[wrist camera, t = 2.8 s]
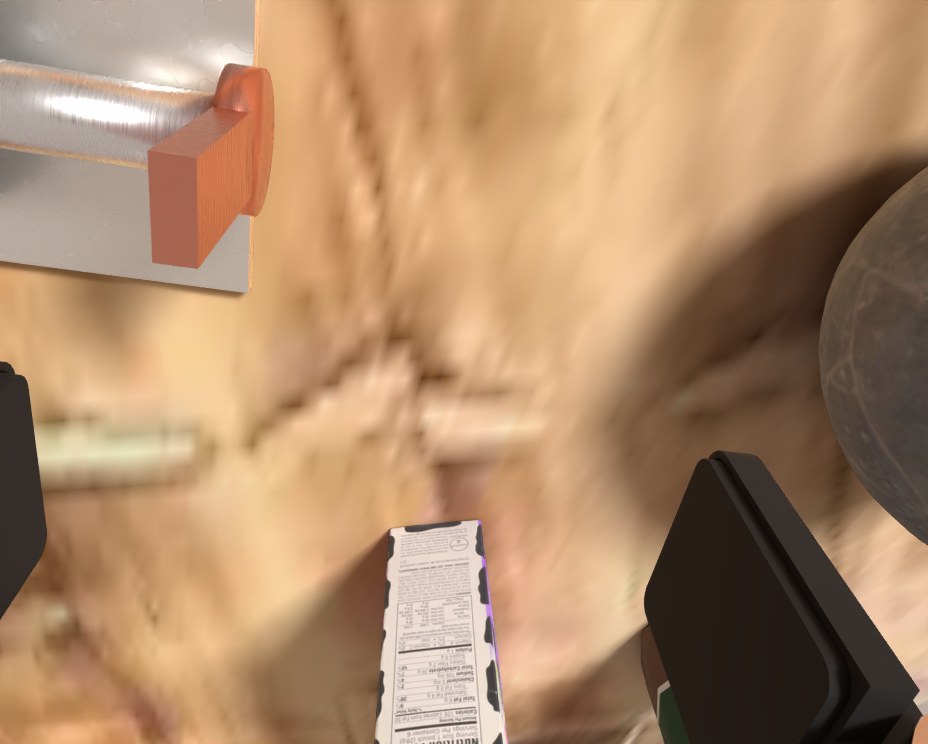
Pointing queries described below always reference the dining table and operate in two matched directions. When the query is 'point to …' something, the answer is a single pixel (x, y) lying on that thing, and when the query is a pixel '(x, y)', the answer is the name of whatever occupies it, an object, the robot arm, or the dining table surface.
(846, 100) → the dining table surface
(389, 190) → the dining table surface
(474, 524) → the candy box
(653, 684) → the beer bottle
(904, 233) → the bowl
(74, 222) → the hitch block
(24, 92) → the lynch pin
